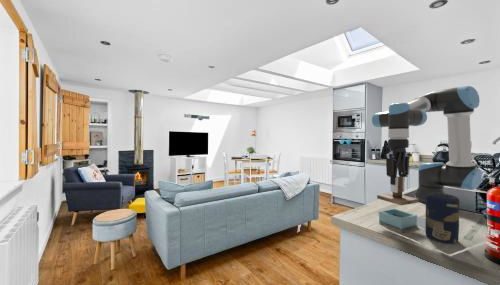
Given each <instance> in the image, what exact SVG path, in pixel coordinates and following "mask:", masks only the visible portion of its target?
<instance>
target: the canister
mask: <svg viewBox="0 0 500 285" xmlns="http://www.w3.org/2000/svg"><path fill="white" fill-rule="evenodd" d="M425 219H426V228H425V229H424V232H425V235H426V237H428V238H429V239H430V240H433V241H435V242H439V243H442V244H443V243H444V244H456V243H458V242H459V235H460V199H459V198H458V196H455V195H452V194H448V193H445V194H444V193H441V192H436V193H429V194H427V195H426V203H425Z"/></svg>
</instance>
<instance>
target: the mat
mask: <svg viewBox="0 0 500 285" xmlns="http://www.w3.org/2000/svg"><path fill="white" fill-rule="evenodd" d="M417 226H418V227H420V228H424V229H426V217H425V218H424V217H421V216H418V215H417Z"/></svg>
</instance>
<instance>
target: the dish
mask: <svg viewBox="0 0 500 285" xmlns="http://www.w3.org/2000/svg"><path fill="white" fill-rule="evenodd" d="M417 216H418V215H416V214H414V213H410V212H407V211H403V210H400V209H397V208H388V209H384V210H379V211H378V219H379V220H378V221H379V222H381V223H384V224H386V225H389V226H392V227H394V228H397V229H399V230H405V229H408V228H412V227H413V228H414V227H416V226H417Z"/></svg>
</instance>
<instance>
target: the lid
mask: <svg viewBox="0 0 500 285" xmlns="http://www.w3.org/2000/svg"><path fill="white" fill-rule="evenodd" d="M396 178H398V193H395V192H390V193H383V194H377V195H376V199H377V200H382V201H385V202H389V203H392V204H396V205H398V206H406V205H413V204H416V203H419V202H420V201H419V199H417V198H415V197H412V196H410V195H409V196H408V195H405V194H403V192H402V183H403V177H400V176H399V175H397V177H396Z"/></svg>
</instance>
